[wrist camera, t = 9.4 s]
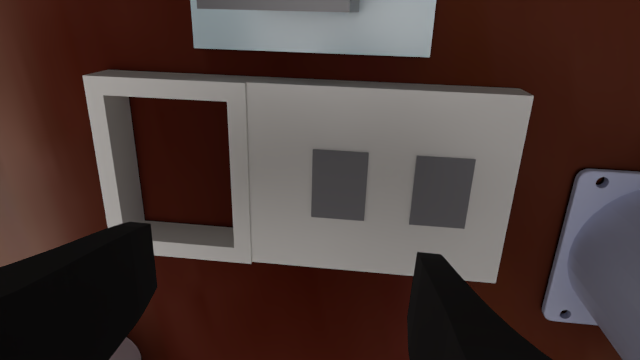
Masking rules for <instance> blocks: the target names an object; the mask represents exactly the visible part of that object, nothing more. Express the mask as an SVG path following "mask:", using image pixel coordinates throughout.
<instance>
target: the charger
mask: <svg viewBox="0 0 640 360" xmlns="http://www.w3.org/2000/svg"><path fill="white" fill-rule="evenodd" d="M359 1H360V0H197V9H229V10H271V11H312V12H359Z"/></svg>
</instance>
